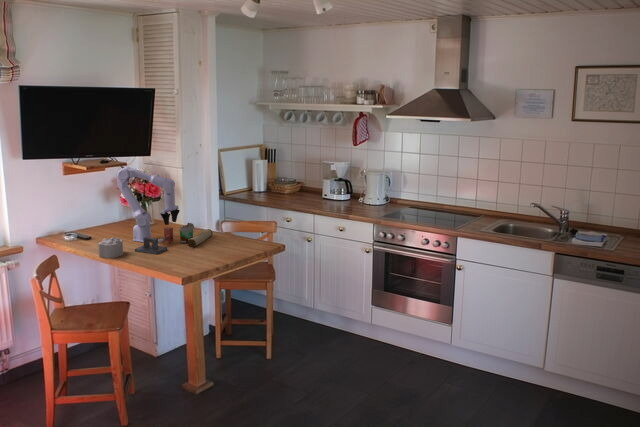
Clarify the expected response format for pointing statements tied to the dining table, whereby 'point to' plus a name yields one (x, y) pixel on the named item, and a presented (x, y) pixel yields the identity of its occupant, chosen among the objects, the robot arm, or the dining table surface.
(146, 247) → the eye bracket
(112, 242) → the lumpy-topped squat cylinder
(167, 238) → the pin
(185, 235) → the food container
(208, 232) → the rolling pin
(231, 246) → the dining table surface
